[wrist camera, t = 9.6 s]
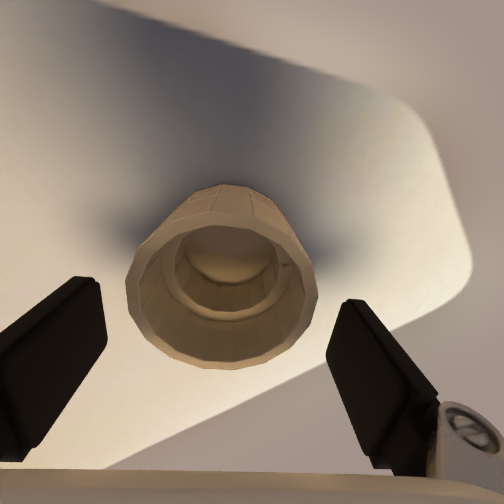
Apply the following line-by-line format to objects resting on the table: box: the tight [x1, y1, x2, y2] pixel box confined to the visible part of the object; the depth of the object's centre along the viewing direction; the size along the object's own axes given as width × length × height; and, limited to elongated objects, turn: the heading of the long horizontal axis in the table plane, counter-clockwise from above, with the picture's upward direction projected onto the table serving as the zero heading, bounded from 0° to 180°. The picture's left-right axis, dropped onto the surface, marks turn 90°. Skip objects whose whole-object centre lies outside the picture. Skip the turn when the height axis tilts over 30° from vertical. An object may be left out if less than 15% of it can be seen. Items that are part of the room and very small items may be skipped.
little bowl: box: [125, 184, 318, 370], centre depth 12 cm, size 7×7×6 cm
